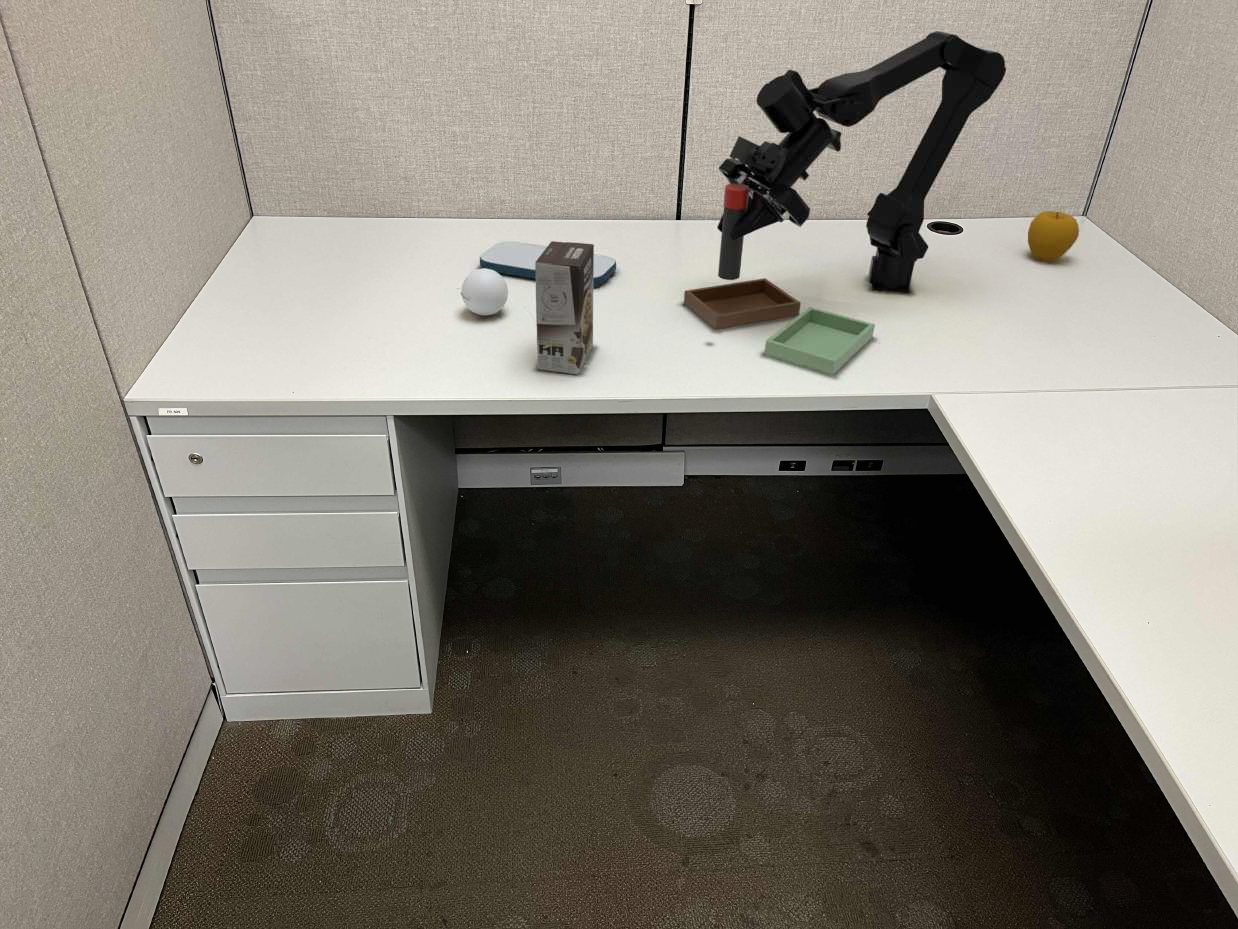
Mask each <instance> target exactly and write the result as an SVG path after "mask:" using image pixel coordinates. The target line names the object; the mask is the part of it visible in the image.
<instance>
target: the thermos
mask: <svg viewBox="0 0 1238 929" xmlns="http://www.w3.org/2000/svg"><path fill="white" fill-rule="evenodd" d="M723 195H724V196H723V213H722V215H723V225H722V232H721V236H720V237H721V238H720V246H719V247H720V248H719V261H718V272H717V277H719V278H720V279H721V280H726V281H734V280H738V279H739V278H740V277H741V276H740V275H741V266H742V256H743V249H744V248H743V247H744V239H745V238H744V237H745V235H744V236H742V237H740V238H738V239H735V240H732V239H731V238H730V236H729V234H730V233H731V231H732V230H733V228H734V227H735V225H736V224H737V223H738V222H739V220H740V219H741V218H742V216H743V215H744V214H745V212H746V209H747V206H748V197H749V187H748V186H747V185H743V184H730V183H728V184H726V185H725V186H724V194H723Z"/></svg>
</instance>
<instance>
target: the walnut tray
mask: <svg viewBox="0 0 1238 929" xmlns="http://www.w3.org/2000/svg"><path fill="white" fill-rule="evenodd" d="M801 303H802V302H801V301H800V300H798V299H796V298H795V297H793V296H792V295H790V294H789V293H787V292H786V291H785V290H783V289H782V288H780V287H779V286H778V285H776V284H774V283H773V282H772V281H770V280H769V279H767V278H765V277H763V278H757V279H752V280H745V281H738V282H732V283H726V284H719V285H718V284H717V285H712V286H707V287H705V286H704V287H701V288H700V287H699V288H694V289H693V288H691V289H688V290H684V293H683V306H684V307H687V308H688V309H689V310H691V311H692V312H693V313H694V314H696V315H697V316H698V317H699V318H700V319H701V320H702V321H704V323H706V324H707V325H708V326H709V327H710V328H712V329H713V330H714V331H718V330H719V331H720V330H724V329H730V328H735V327H736V328H737V327H742V326H747V325H753V324H759V323H764V322H770V321H776V320H781V319H788V318H793V317H794V318H795V317H797V316H798V315H800V310H801V305H802V304H801Z"/></svg>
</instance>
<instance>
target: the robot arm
mask: <svg viewBox="0 0 1238 929" xmlns="http://www.w3.org/2000/svg"><path fill="white" fill-rule="evenodd" d="M937 69H940V70H943V71H945V73H944V75H943V77H942V79H941V101H940V104H939V106H938V107H937V109H936V111H935V113H934V115H933V117H932V119H931V121H930V122H929V125H928V127H927V129H926V131H925V132H924V134H923V136H922V138H921V140H920V141H919V144H918V146H917V148H916V150H915V152H914V153H913V156H912V157H911V159H910V161H909V163H908V165H907V166H906V168H905V170H904V172H903V175H901V176H902V177H901V179H900V180H899V182H898V184H897V185H896V187H895V188H894V189H893V190H891V191H890V192H888V193H887V194H885V193H883V192H880V193H879V194H878V195H877V196H876V198H875V201H874V203H873V205H872V207H871V209H870V210H869V211H868V212H867V213H866V215H867V216H868V218H867V220H866V224H865V225H866V226H865V227H866V231H867V234H868V236H869V241H870V246H872V247H875V248H876V251H875V255H872V256H871V259H870V265H869V269H868V276H867V279H868V283H869V284H870V286H871V290H872V291H874V292H875V291H876V292H887V293H897V294H898V293H899V294H900V293H901V294H911V292H912V289H911V282H912V277H913V272H914V268H915V263H916V262H917V261H918V260H920V259H924V258H925V255H926V253H927V251H928V250H929V245H928V244H927V242H926V240H925V239H924V238H923V236H922V234H921V233H920V231H921V228H922V225H923V223H924V221H925V200H926V198H927V196H928V194H929V192H930V191H931V188H932V187H933V185H934V183H935V182H936V178H937V177H938V175H939V173H940V172H941V170H942V168H943V166H944V164H945V162H946V160H947V159H948V157H949V155H950V153H951V151H952V149H953V147H954V146H955V143H956V142H957V141H958V138H959V136H960V134H961V132H962V130H963V129H964V127H965V125H966V123H967V122H968V120H969V118H970V116H971V115H972V114H973V112H975V111H976V110H977V109H978V108H980V107H982V106H983V105H984V104H985V103H986V102H988V101H989V100H990V99H991V97H992V96H993V95H994V93H995V92H996V90H997V89H998V87H999V86H1000V85H1001V83H1002V81H1003V80H1004V77H1005V75H1006V73H1007V72H1006V71H1007V67H1006V60H1005V57H1004V56H1003V55H1002V53H1000V52H998V51H994V50H990V49H986V48H980V47H977V46H975V45H974V44H971V43H969V42H967V41H965V40H964V39H962V38H960V36H958V34H953V33H950V32H945V31H938V30H935V31H933V32H930V33H929V34H928V35H926V37H925V38H922V39H921V40H920V41H918V42H916V43H914V44H912V45H910V46H908V47H906V48H905V49H903V50H901V51H899V52H897V53H895V54H893V55H892V56H890V57H887V58H886V59H885V60H883V61H880V62H879V63H877V64H874V65H873V66H871V67H870V68H868V69H865V70H861V71H855V72H847V73H843V74H839V75H837V76H833V77H831V78H827V79H826V80H824V81H823V82H821V83H820V84H819V86H817V87H812V88H809V89H808V87H807V86H806V84H805V83H804V81H803V78H802V76H801V75H800V73H799V71H796V70H793V69H787V71H786V72H785V73H784V74H783V75H779V76H777V77H775V78H773V79H772V80H770V81H769V82H766V83H765V84H764V85H763V86H762V87H761V89H760V90H759V92H758V94H757V96H756V100H755V101H756V105H757V106H758V107H759V109H760V110H761V111H762V112H763V114H764V115H765V117H766V118H767V119H768V120H769V121H770V123H771V124H772V126H773V127H774V128H775V129H776V131H777V132H778V133H780V134H786V135H785V136H784V137H783V138H782V140H781V141H780V142H778V144H777V143H775V142H769V141H767V140H764V141H763V142H762V143H761V144H760V145H758V144H757V143H754V142H753V141H750V140H749V139H746V138H744V137H742V136H740V135H738V137H737V139H736V141H735V143H734V145H733V148H732V149H731V152H730V154H729V157H730V158H725V159H724V160H723V162H722V163H721V164H720V165H719V167H718V170H719V172H720V173H721V174H722V175H723V176H724V177H725V179H726V180H727V181H728V184H743V185H747V186H748V187H749V197H748V206H747V209H746V212H745V214H744V215H743V216H742V218H741V219H740V220H739V222H738V223H737V224H736V225H735V227H734V228H733V230H732V231H731V233H730V234H729V236H730V238H731V239H732V240H735V239H738V238H740V237H742V236H744V237H745V236H746V235H749V234H752V233H753V232H755V231H758V230H760V229H763V228H766V227H767V226H768V227H769V226H771V225H773V224H776V223H783V222H784V221H785V219H784V218H783V216H784V215H785V214H786V213H787V214H788V221H790V222H791V223H792V224H794V225H796V226H797V227H799V228H801V227H802V226H803V225H804V224H805V223H806V222H807V221H808V220H809V218H810V213H811V208H810V207H809V205H808V204H807V203H806V202H805V201H804V199H803V198H802V196H801V195H800V194H799V193H798V192H797V190H796V189H794V188H793V186H794V185H795V184H796V183H797V182H798V180H799V179H800V180H802V181H804V182H805V181H806V180H807V179H808V178H809V177H810V175H809V173H808V172H807V170H808V169H809V168H810V167H811V166H812V165H813V163H814V162H815V161H816V160H817V159H818V157H819V156H820V155H821V154H822V153H823V152H824V151H825V149H827V148H828V149H830V150H832V151H834V152H840V151H841V149H842V142H841V137H842V132H841V131H839V130H837V129H834V128H832V127H831V126H830V124H829V123H828V122H829V121H830V122H832V123H835V124H837V125H839V126H843V127H846V128H848V127H849V128H850V127H854V126H856V125H857V124H859V123H860V122H862V121H863V120H864V119H865V118H866V117H868V116H869V115H870V114H872V113H873V112H874V110H875V109H876V107H877V105H878V104H879V103H880V102H881V100H883V99H884V98H886V97H887V96H889V95H891V94H893V93H895V92H897V91H898V90H901V89H902V88H904V87H906V86H907V85H909V84H911V83H913V82H915V81H917V80H918V79H921V78H922V77H925V76H926V75H928V74H929V73H931V72H933V71H935V70H937ZM814 112H816V114H817V115H818V116H819V117H818V116H816V115H815V113H814ZM826 120H827V121H828V122H827V121H826ZM722 225H723V214H722V215H721V217H720V220H719V222H718V224H717V227H716V228H717V230H718V231H719V232H720V233H722Z"/></svg>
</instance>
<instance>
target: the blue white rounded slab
mask: <svg viewBox="0 0 1238 929" xmlns="http://www.w3.org/2000/svg"><path fill="white" fill-rule="evenodd" d="M547 246H548V245H541V244H534V243H526V242H522V241H521V242H520V241H501V242H498V243H496V244H494V245H492V247H490V248H488V249H487V250H486V251H484V252H483V253H482V254H480V256H479V266H480V267H481V269H482V268H486V269H490V270H494V271H496V272H497V273H498V274H505V275H511V276H519V277H524V278H530V279H534V280H536V276H535V262H536V261H537V259H538V258H539V257H540V256H541V254H542V253H543V252H544V250H545V249H546V248H547ZM616 270H617V261H616V259H615V258H613V257H611V256H607V255H603V254H597V253H594V268H593V287H598V286H600V285H601V286H602V285H603V284H604V283H605V282H606V281H607V280H608V279H609V278H610V277H611V276H612V275H613V274H614V273H615V272H616Z"/></svg>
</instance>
